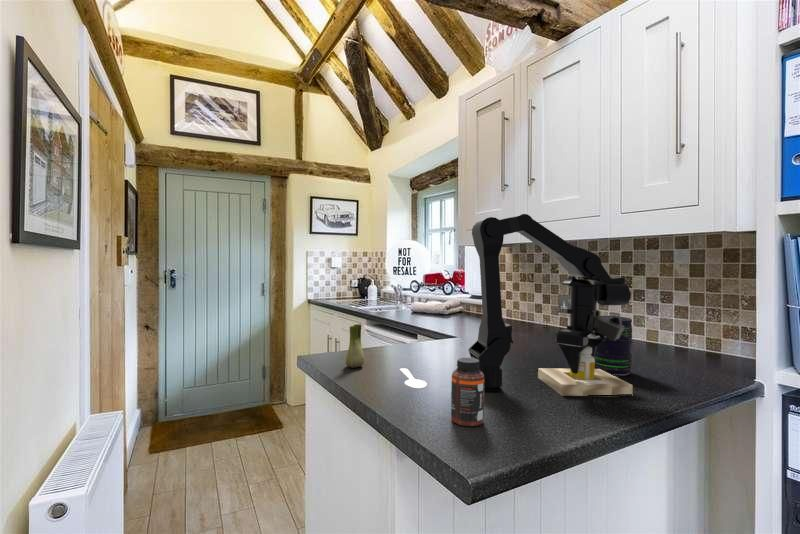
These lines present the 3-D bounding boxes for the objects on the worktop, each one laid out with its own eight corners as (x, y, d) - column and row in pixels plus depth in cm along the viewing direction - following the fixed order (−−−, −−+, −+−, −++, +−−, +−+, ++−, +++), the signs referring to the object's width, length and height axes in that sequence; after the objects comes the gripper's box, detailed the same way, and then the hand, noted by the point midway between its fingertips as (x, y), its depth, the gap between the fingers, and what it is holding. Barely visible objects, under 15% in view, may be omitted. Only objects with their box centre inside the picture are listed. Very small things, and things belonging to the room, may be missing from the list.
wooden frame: (561, 395, 88) (561, 383, 88) (538, 377, 102) (538, 367, 102) (632, 396, 88) (632, 384, 88) (599, 378, 102) (599, 368, 102)
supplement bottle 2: (575, 389, 92) (576, 348, 92) (566, 383, 97) (566, 344, 97) (598, 390, 92) (599, 349, 92) (587, 383, 97) (588, 344, 97)
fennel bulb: (358, 363, 113) (359, 322, 113) (368, 367, 110) (369, 324, 110) (341, 367, 109) (342, 323, 109) (351, 370, 106) (352, 326, 106)
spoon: (412, 369, 109) (412, 367, 109) (431, 389, 92) (431, 386, 92) (393, 370, 108) (393, 368, 108) (408, 390, 90) (408, 388, 90)
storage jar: (588, 372, 108) (589, 318, 108) (594, 365, 116) (594, 314, 116) (630, 378, 102) (631, 321, 102) (633, 370, 110) (634, 317, 110)
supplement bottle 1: (490, 426, 70) (491, 362, 70) (459, 429, 68) (460, 364, 68) (474, 414, 76) (475, 355, 76) (445, 416, 74) (446, 356, 74)
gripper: (607, 310, 82) (606, 385, 82) (631, 305, 96) (630, 369, 96) (554, 306, 90) (553, 374, 90) (583, 302, 104) (582, 361, 104)
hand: (582, 369), depth 95 cm, fingers open, 9 cm apart
